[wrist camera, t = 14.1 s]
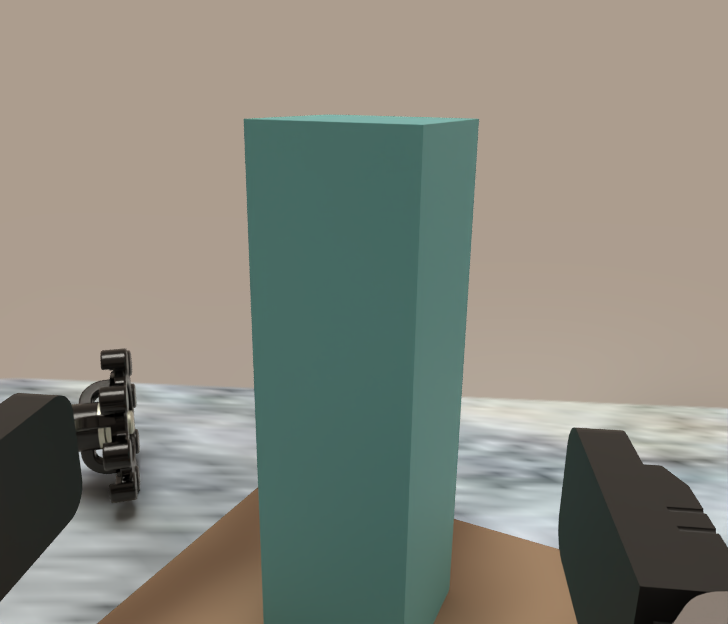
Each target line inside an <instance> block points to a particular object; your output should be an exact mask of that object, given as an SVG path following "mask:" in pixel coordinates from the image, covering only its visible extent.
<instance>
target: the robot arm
mask: <svg viewBox="0 0 728 624" xmlns="http://www.w3.org/2000/svg"><path fill="white" fill-rule="evenodd" d="M81 494H82V475H81V467H80V460H79V452H78V444H77V436H76V429H75V421H74V413H73V408H72V405H71V403H70V401H69V400H68V399H67V398H66V397H65V396H60V395H43V394H27V393H17V394H14V395H12V396H10V397H9V398H8V399H6V400H5V401H3V402H2V403H0V601H1V600H2V599H3V598H4V597H5V596H6V595H7V593H8V592H9V591H10V590H11V589H12V588H13V586H14V585H15V584H16V583H17V582H18V581H19V580H20V578H21V577H22V576H23V575H24V574H25V573H26V572H27V570H28V569H29V568H30V567H31V566H32V565H33V563H34V562H35V561H36V560H37V559H38V558H39V557H40V555H41V554H42V553H43V552H44V551H45V550H46V549H47V547H48V546H49V545H50V544H51V543H52V542H53V540H54V539H55V538H56V537H57V536H58V535H59V534H60V532H61V531H62V530H63V529H64V528H65V527H66V525H67V524H68V523H69V522H70V521H71V519H72V518H73V517H74V515H75V513H76V511H77V509H78V506H79V503H80V499H81ZM558 536H559V550H560V557H561V562H562V566H563V570H564V574H565V577H566V581H567V585H568V589H569V593H570V597H571V601H572V605H573V608H574V612H575V616H576V620H577V624H728V547H727V546H726V544H725V542H724V541H723V539H722V538H721V536H720V535H719V534H716V528H715V527H714V525H713V524H712V522H711V520H710V519H709V517H708V516H707V514H704V513H703V508H702V506H701V505H700V503H699V501H698V500H697V498H696V497H695V495H694V494H693V492H692V490H691V489H690V487H689V486H688V485H687V484H685V483H684V482H683V481H681V480H680V479H679V478H677V477H676V476H675V475H673V474H672V473H671V472H669V471H668V470H667V469H665V468H664V467H663V466H659V465H644V464H643V463H642V461H641V460H640V458H639V456H638V454H637V452H636V450H635V449H634V447H633V445H632V443H631V441H630V439H629V438H628V436H627V434H626V433H625V432H624V431H622V430H605V429H589V428H572V430H571V432H570V434H569V439H568V445H567V453H566V462H565V470H564V479H563V487H562V496H561V504H560V513H559V527H558Z"/></svg>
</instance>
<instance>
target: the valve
mask: <svg viewBox="0 0 728 624" xmlns="http://www.w3.org/2000/svg"><path fill="white" fill-rule="evenodd" d="M101 369H102V370H107V369H109V370H113V371H112V372H111V375H110V379H109V380H102V381H98V382H95V383H93V384H91V385H90V386H88V387H87V388H86V389H85V390H84V391H83V392H82V394H81V396H80V399H79V404H73V405H72V408H73V413H74V421H75V429H76V436H77V444H78V452H81V456H82V459H83V461H84V463H85V464H86V466H87V467H89V468H90V469H91V470H93V471H95V472H97V473H102V474H112V473H117V475H116V481H115V484H111V485H109V492H110V500H111V503H118V502H125V501H132V500H136V499H137V492H138V491H140V473H139V467H138V466H136V454H138V453H139V452H140V443H139V432H138V430H137V429H135V421H134V408H135V407H136V389H135V385H134V384H131V382H130V376H131V374H132V361H131V353H130V351H127V350H126V349H114V350H103V351H101ZM98 397H99V402H94V401H95V400H96V399H97V398H98ZM99 449H103V458H102V457H100V456H98V454H97V453H96V450H99Z"/></svg>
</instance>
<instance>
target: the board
mask: <svg viewBox="0 0 728 624" xmlns="http://www.w3.org/2000/svg"><path fill="white" fill-rule="evenodd" d="M97 624H264V620H263V595H262V570H261V544H260V519H259V494H258V488H257V489H255V490H254V491H253V492H252V493H251V494H250V495H248V496H247V497H246V498H245V499H244V500H242V501H241V502H240V503H239V504H238V505H237V506H235V507H234V508H233V509H232V510H231V511H229V512H228V513H227V514H226V515H225V516H224V517H222V518H221V519H220V520H219V521H218V522H216V523H215V524H214V525H213V526H212V527H211V528H209V529H208V530H207V531H206V532H205V533H203V534H202V535H201V536H200V537H199V538H198V539H196V540H195V541H194V542H193V543H192V544H190V545H189V546H188V547H187V548H186V549H185V550H183V551H182V552H181V553H180V554H179V555H178V556H176V557H175V558H174V559H173V560H172V561H170V562H169V563H168V564H167V565H166V566H165V567H163V568H162V569H161V570H160V571H159V572H157V573H156V574H155V575H154V576H153V577H152V578H150V579H149V580H148V581H147V582H146V583H144V584H143V585H142V586H141V587H140V588H139V589H137V590H136V591H135V592H134V593H133V594H131V595H130V596H129V597H128V598H127V599H126V600H124V601H123V602H122V603H121V604H120V605H118V606H117V607H116V608H115V609H114V610H113V611H111V612H110V613H109V614H108V615H107V616H105V617H104V618H103V619H102V620H101V621H100V622H98V623H97ZM433 624H577V620H576V616H575V612H574V608H573V605H572V601H571V597H570V593H569V589H568V585H567V581H566V577H565V574H564V570H563V566H562V562H561V557H560V550H559V549H556V548H552V547H549V546H545V545H542V544H538V543H535V542H532V541H528V540H525V539H521V538H518V537H514V536H511V535H507V534H504V533H501V532H497V531H494V530H490V529H487V528H483V527H480V526H476V525H473V524H470V523H466V522H463V521H459V520H456V519H454V523H453V539H452V555H451V571H450V587H449V591H448V593H447V596H446V598H445V600H444V602H443V604H442V606H441V608H440V610H439V612H438V615H437V617H436V619H435V621H434V623H433Z"/></svg>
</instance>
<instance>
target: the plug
mask: <svg viewBox="0 0 728 624" xmlns="http://www.w3.org/2000/svg"><path fill="white" fill-rule="evenodd" d="M478 125H479V119H463V118H430V117H395V116H360V115H359V116H358V115H312V116H292V117H274V118H273V117H272V118H254V119H253V118H252V119H244V139H245V164H246V188H247V213H248V239H249V262H250V263H249V266H250V290H251V315H252V341H253V366H254V392H255V418H256V443H257V468H258V494H259V519H260V544H261V570H262V595H263V620H264V624H433V623H434V621H435V619H436V617H437V615H438V612H439V610H440V608H441V606H442V604H443V602H444V600H445V598H446V596H447V593H448V591H449V587H450V571H451V555H452V539H453V523H454V507H455V491H456V475H457V459H458V443H459V428H460V412H461V396H462V380H463V364H464V348H465V331H466V316H467V300H468V283H469V269H470V252H471V236H472V220H473V204H474V188H475V173H476V157H477V141H478Z"/></svg>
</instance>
